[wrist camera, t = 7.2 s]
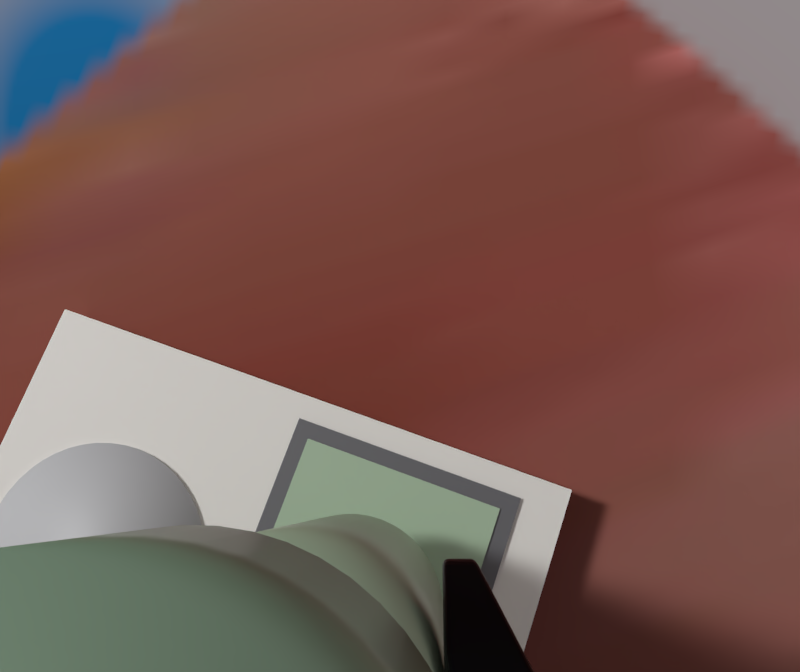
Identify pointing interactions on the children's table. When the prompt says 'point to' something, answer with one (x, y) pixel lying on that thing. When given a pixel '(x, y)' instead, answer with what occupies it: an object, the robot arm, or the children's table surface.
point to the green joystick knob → (224, 601)
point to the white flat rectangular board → (250, 463)
